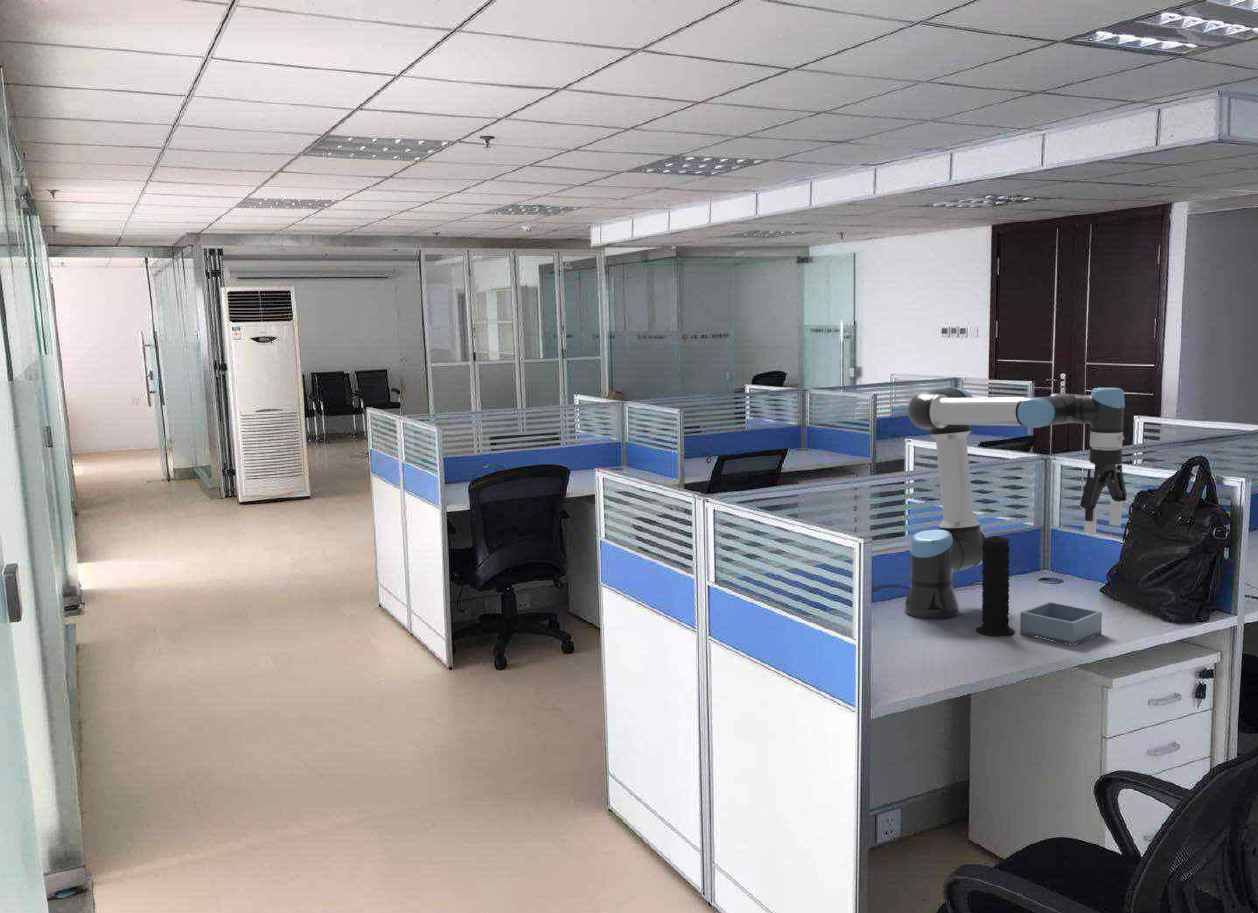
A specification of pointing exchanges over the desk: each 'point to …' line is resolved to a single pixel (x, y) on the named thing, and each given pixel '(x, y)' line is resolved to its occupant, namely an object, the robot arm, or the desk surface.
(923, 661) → the desk surface
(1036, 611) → the box
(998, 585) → the handle grip
